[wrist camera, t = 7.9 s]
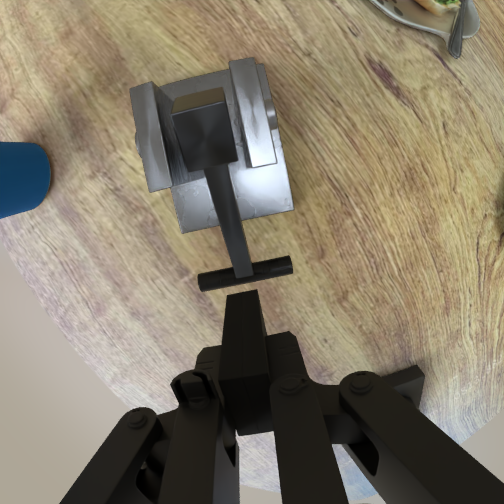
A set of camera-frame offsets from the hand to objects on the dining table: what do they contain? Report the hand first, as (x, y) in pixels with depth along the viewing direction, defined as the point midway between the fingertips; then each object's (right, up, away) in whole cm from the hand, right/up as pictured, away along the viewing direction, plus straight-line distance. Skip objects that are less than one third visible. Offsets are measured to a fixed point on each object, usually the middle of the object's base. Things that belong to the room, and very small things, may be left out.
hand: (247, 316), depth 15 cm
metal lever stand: (-2, +11, +8) cm, 14 cm away
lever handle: (-1, +6, +1) cm, 7 cm away
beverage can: (-21, +11, +8) cm, 25 cm away
